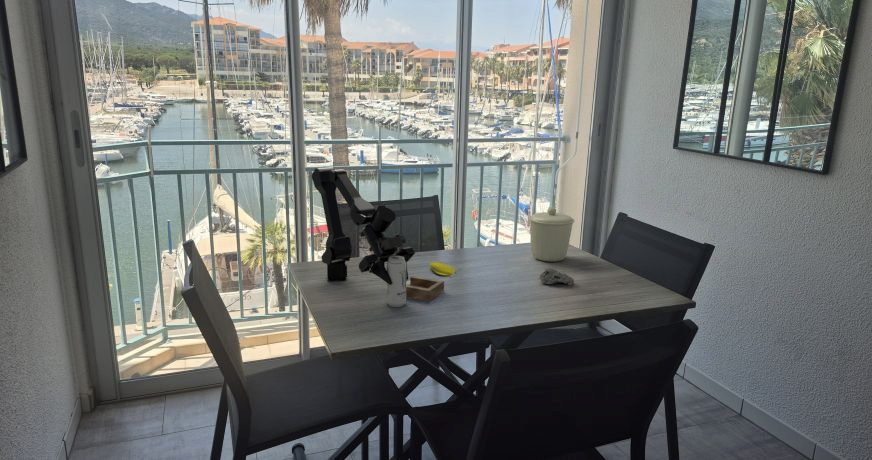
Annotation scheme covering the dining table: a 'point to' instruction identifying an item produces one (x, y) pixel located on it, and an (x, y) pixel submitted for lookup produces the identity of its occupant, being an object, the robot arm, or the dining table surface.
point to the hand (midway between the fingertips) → (399, 282)
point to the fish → (442, 268)
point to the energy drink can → (396, 281)
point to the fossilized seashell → (555, 277)
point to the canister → (550, 235)
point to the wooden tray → (424, 288)
